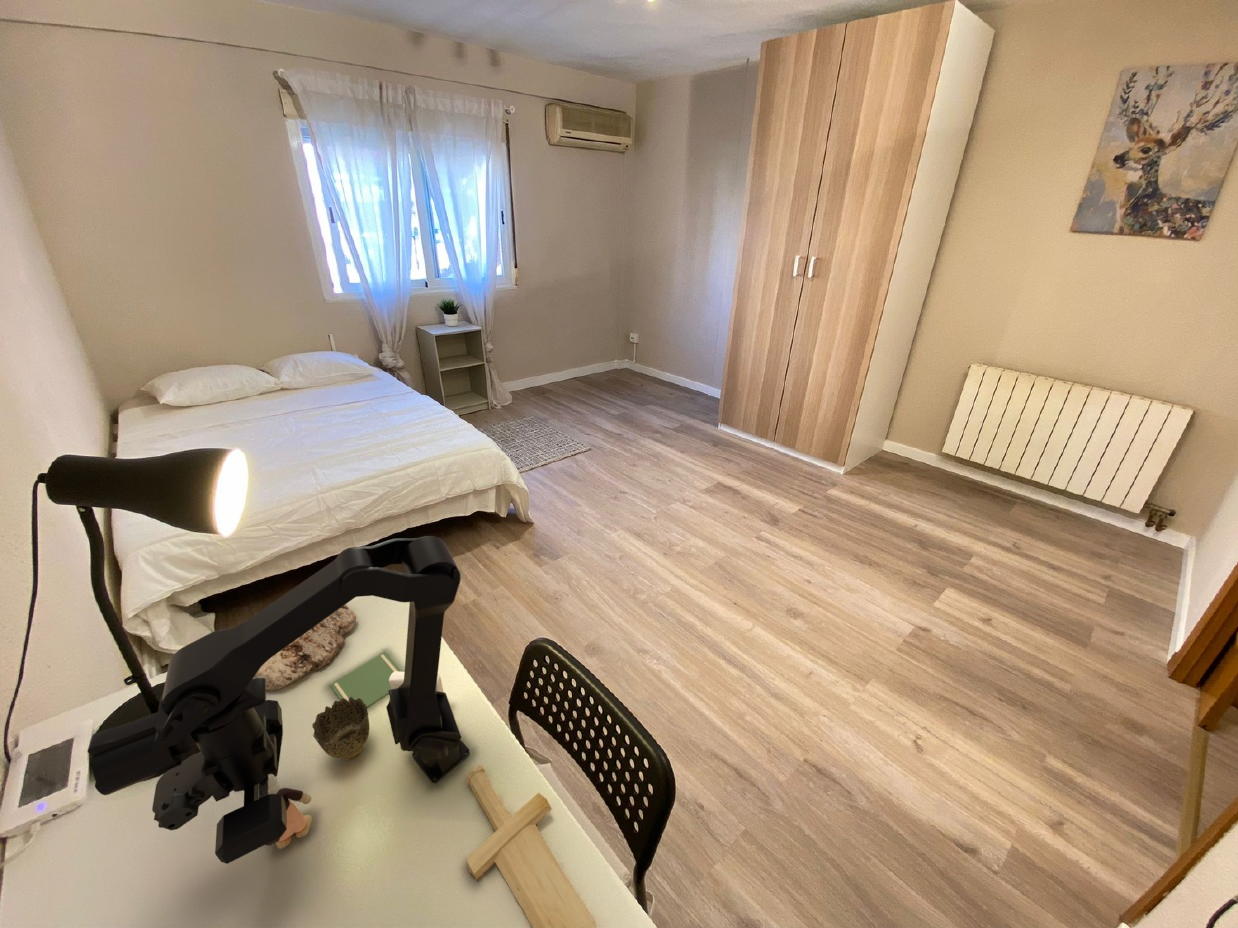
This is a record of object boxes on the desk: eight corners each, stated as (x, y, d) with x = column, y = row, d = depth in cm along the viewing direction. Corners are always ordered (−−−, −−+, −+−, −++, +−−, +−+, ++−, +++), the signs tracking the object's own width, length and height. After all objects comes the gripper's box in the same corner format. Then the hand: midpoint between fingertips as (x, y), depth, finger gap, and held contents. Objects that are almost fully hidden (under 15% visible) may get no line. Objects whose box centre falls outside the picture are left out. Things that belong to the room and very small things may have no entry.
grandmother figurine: (315, 802, 73) (289, 749, 66) (324, 823, 70) (298, 771, 64) (252, 844, 68) (218, 792, 62) (260, 869, 65) (225, 817, 59)
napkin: (408, 679, 91) (408, 678, 91) (352, 717, 84) (352, 716, 84) (384, 652, 96) (384, 650, 96) (330, 685, 89) (329, 684, 89)
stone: (214, 683, 89) (279, 722, 86) (202, 654, 84) (270, 694, 81) (321, 598, 107) (378, 628, 104) (316, 570, 103) (375, 600, 99)
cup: (326, 738, 81) (313, 706, 77) (376, 721, 84) (366, 689, 80) (324, 782, 75) (310, 750, 71) (378, 762, 78) (367, 730, 74)
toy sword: (438, 809, 73) (558, 1046, 53) (432, 799, 71) (555, 1041, 52) (511, 750, 79) (642, 943, 60) (507, 740, 77) (642, 935, 58)
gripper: (155, 705, 62) (203, 777, 69) (125, 857, 48) (189, 927, 55) (262, 666, 67) (296, 737, 74) (263, 793, 53) (305, 865, 61)
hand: (273, 807), depth 66 cm, fingers open, 9 cm apart
